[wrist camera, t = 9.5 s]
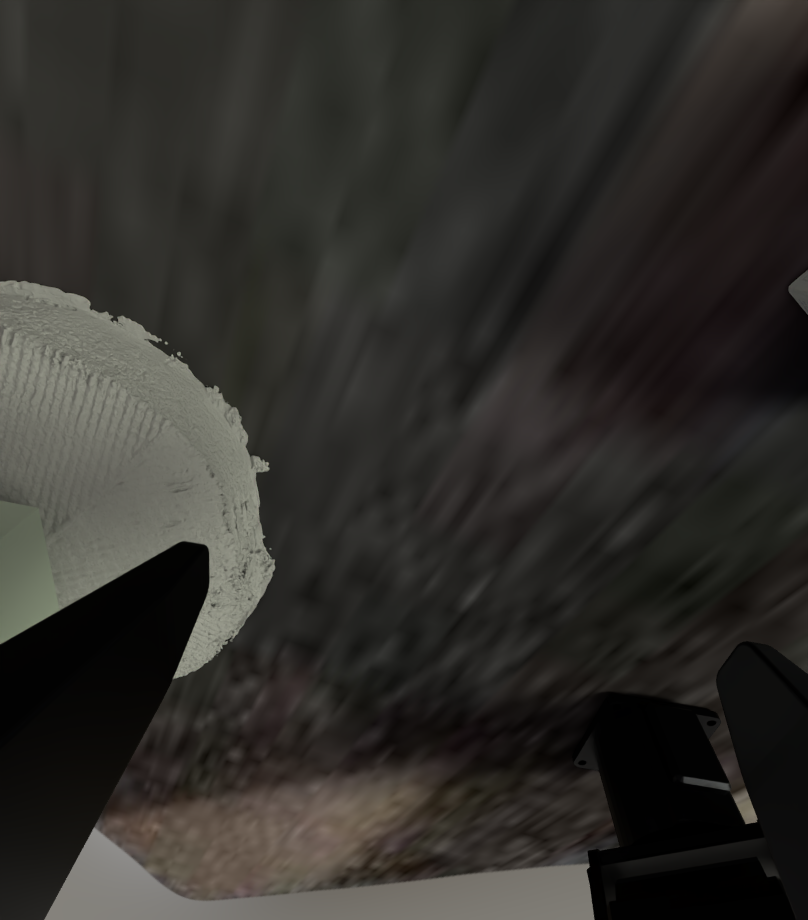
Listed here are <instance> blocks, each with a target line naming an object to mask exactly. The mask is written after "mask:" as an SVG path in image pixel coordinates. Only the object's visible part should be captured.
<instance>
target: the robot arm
mask: <svg viewBox="0 0 808 920" xmlns="http://www.w3.org/2000/svg"><path fill="white" fill-rule="evenodd" d="M209 584H210V572H209V549H208V547H207V546H206V545H204V544H200V543H194V542H189V541H182V542H179V543H177V544H175V545H173V546H171V547H170V548H168V549H166V550H164V551H163V552H161V553H159V554H157V555H156V556H154V557H152V558H150V559H149V560H147V561H145V562H143V563H142V564H140V565H138V566H136V567H135V568H133V569H131V570H129V571H128V572H126V573H124V574H122V575H121V576H119V577H117V578H115V579H114V580H112V581H110V582H108V583H107V584H105V585H103V586H101V587H100V588H98V589H96V590H94V591H93V592H91V593H89V594H87V595H86V596H84V597H82V598H80V599H79V600H77V601H75V602H73V603H72V604H70V605H68V606H66V607H65V608H63V609H61V610H59V611H57V612H56V613H54V614H52V615H50V616H49V617H47V618H45V619H43V620H42V621H40V622H38V623H36V624H35V625H33V626H31V627H29V628H28V629H26V630H24V631H22V632H21V633H19V634H17V635H15V636H14V637H12V638H10V639H8V640H7V641H5V642H3V643H1V644H0V920H44V919H45V917H46V915H47V913H48V912H49V910H50V908H51V906H52V904H53V902H54V901H55V899H56V897H57V895H58V893H59V891H60V889H61V888H62V886H63V884H64V882H65V880H66V878H67V876H68V875H69V873H70V871H71V869H72V867H73V865H74V863H75V862H76V860H77V858H78V856H79V854H80V852H81V850H82V848H83V847H84V845H85V843H86V841H87V839H88V837H89V836H90V834H91V832H92V830H93V828H94V826H95V824H96V823H97V821H98V819H99V817H100V815H101V813H102V811H103V810H104V808H105V806H106V804H107V802H108V800H109V799H110V797H111V795H112V793H113V791H114V789H115V787H116V786H117V784H118V782H119V780H120V778H121V776H122V774H123V773H124V771H125V769H126V767H127V765H128V763H129V761H130V760H131V758H132V756H133V754H134V752H135V750H136V748H137V747H138V745H139V743H140V741H141V739H142V737H143V735H144V734H145V732H146V730H147V728H148V726H149V724H150V722H151V721H152V719H153V717H154V715H155V713H156V711H157V709H158V708H159V706H160V704H161V702H162V700H163V698H164V696H165V694H166V692H167V690H168V688H169V686H170V684H171V682H172V680H173V678H174V675H175V673H176V671H177V668H178V666H179V663H180V661H181V658H182V656H183V653H184V651H185V648H186V646H187V644H188V641H189V639H190V636H191V634H192V631H193V629H194V626H195V624H196V621H197V619H198V616H199V614H200V611H201V609H202V607H203V604H204V602H205V599H206V597H207V593H208V590H209ZM716 683H717V689H718V693H719V696H720V700H721V703H722V707H723V710H724V714H725V717H726V721H727V725H728V728H729V732H730V735H731V739H732V742H733V746H734V750H735V753H736V757H737V760H738V764H739V767H740V770H741V774H742V777H743V780H744V783H745V786H746V789H747V792H748V794H749V797H750V800H751V802H752V805H753V808H754V810H755V813H756V816H757V818H758V820H757V822H756V823H750V824H745V822H744V819H743V817H742V815H741V813H740V811H739V809H738V807H737V805H736V803H735V801H734V799H733V797H732V794H731V792H730V790H731V784H730V782H729V780H728V778H727V776H726V774H725V772H724V770H723V768H722V766H721V764H720V762H719V760H718V758H717V756H716V754H715V752H714V749H713V747H712V745H711V743H710V741H709V738H710V737H711V735H712V734H713V733H714V732H715V730H716V729H717V728H718V727H719V725H720V724H721V720H720V718H719V716H718V714H717V713H716V712H713V711H708V710H703V709H697V708H691V707H685V706H679V705H674V704H668V703H662V702H656V701H650V700H645V699H639V698H633V697H627V696H621V695H611V696H609V697H607V698H606V700H605V701H604V703H603V705H602V706H601V708H600V710H599V712H598V713H597V715H596V717H595V718H594V720H593V722H592V723H591V725H590V727H589V728H588V730H587V732H586V733H585V735H584V737H583V739H582V740H581V742H580V744H579V745H578V747H577V749H576V750H575V752H574V754H573V756H572V758H573V762H574V765H575V766H577V767H580V768H586V769H592V770H598V771H599V772H600V776H601V780H602V783H603V787H604V791H605V794H606V798H607V801H608V805H609V809H610V812H611V816H612V820H613V823H614V827H615V831H616V834H617V838H618V842H619V845H620V847H618V848H613V849H607V850H602V851H599V849H595V850H589V851H588V858H589V865H590V867H589V868H588V869H587V874H588V878H589V883H590V889H591V897H592V904H593V911H594V919H595V920H808V674H807V673H806V672H804V671H803V670H802V669H800V668H799V667H798V666H796V665H795V664H794V663H792V662H791V661H790V660H788V659H787V658H786V657H785V656H783V655H782V654H781V653H779V652H778V651H777V650H775V649H774V648H772V647H771V646H768V645H765V644H760V643H754V642H748V641H746V642H742V643H740V644H738V645H737V646H736V648H735V649H734V651H733V652H732V653H731V655H730V656H729V657H728V659H727V660H726V661H725V663H724V664H723V665H722V667H721V668H720V670H719V671H718V674H717V679H716Z"/></svg>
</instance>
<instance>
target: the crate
mask: <svg viewBox="0 0 808 920" xmlns="http://www.w3.org/2000/svg"><path fill="white" fill-rule="evenodd" d="M59 610H60V609H59V604H58V600H57V595H56V590H55V585H54V580H53V575H52V571H51V566H50V561H49V556H48V551H47V546H46V541H45V537H44V532H43V527H42V522H41V517H40V512H39V508H37V507H32V506H26V505H21V504H16V503H11V502H5V501H0V644H1V643H3V642H5V641H7V640H8V639H10V638H12V637H14V636H15V635H17V634H19V633H21V632H22V631H24V630H26V629H28V628H29V627H31V626H33V625H35V624H36V623H38V622H40V621H42V620H43V619H45V618H47V617H49V616H50V615H52V614H54V613H56V612H57V611H59Z"/></svg>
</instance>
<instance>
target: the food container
mask: <svg viewBox="0 0 808 920" xmlns="http://www.w3.org/2000/svg"><path fill="white" fill-rule="evenodd" d="M111 318H113V316H111V315H109V314H108V312H104V313H103V312H102V313H98V312H97V311H94V310H93V309H92V310H90V301H89V300H87V299H86V298H84V297H81V296H79V295H76V294H73V293H64V292H62V291H61V290H59V289H58V288H54V287H47V286H43V285H42V286H40V285H39V284H35V283H28V282H27V281H22V282H17V281H7V282H0V501H5V502H11V503H16V504H21V505H26V506H32V507H37V508H39V512H40V517H41V522H42V527H43V532H44V537H45V541H46V546H47V551H48V556H49V561H50V566H51V571H52V575H53V580H54V585H55V590H56V595H57V600H58V604H59V609H60V610H61V609H63V608H65V607H66V606H68V605H70V604H72V603H73V602H75V601H77V600H79V599H80V598H82V597H84V596H86V595H87V594H89V593H91V592H93V591H94V590H96V589H98V588H100V587H101V586H103V585H105V584H107V583H108V582H110V581H112V580H114V579H115V578H117V577H119V576H121V575H122V574H124V573H126V572H128V571H129V570H131V569H133V568H135V567H136V566H138V565H140V564H142V563H143V562H145V561H147V560H149V559H150V558H152V557H154V556H156V555H157V554H159V553H161V552H163V551H164V550H166V549H168V548H170V547H171V546H173V545H175V544H177V543H179V542H182V541H189V542H194V543H200V544H204V545H206V546H207V547H208V549H209V572H210V584H209V590H208V593H207V597H206V599H205V602H204V604H203V607H202V609H201V611H200V614H199V616H198V619H197V621H196V624H195V626H194V629H193V631H192V634H191V636H190V639H189V641H188V644H187V646H186V648H185V651H184V653H183V656H182V658H181V661H180V663H179V666H178V668H177V671H176V673H175V675H174V678H176V679H177V678H178V677H182V676H183V675H184V676H186V675H187V674H188V673H189V672H191V671H196V670H197V669H199V668H201V666H203V664H204V663H208V660H212V659H211V657H212V658H213V656H214V655H215V654H216V650H217V651H219V652H220V648H221V649H223V648H222V644H223V645H225V644H227V642H228V641H226V642H225V640H226V639H229V638H230V637H231V636H233V638H234V637H235V635H237V634H238V632H239V629H240V628H241V626H242V627H243V625H244V622H245V621H246V618H247V617H248V616H249V615H250V614H251V613H252V612H253V610H254V609H255V607H256V606H257V603H258V601H259V600H260V598H261V597H262V596H263V594H264V592H265V591H266V587H267V585H268V583H269V582H270V581H271V577H272V576H273V575H272V572H273V571H274V570H275V565H274V562H275V560H271V559H272V558H271V557H270V555H269V554H268V552H266V548H265V547H264V544H263V540H262V538H265V536H263V534H262V528H261V523H260V522H259V511H258V506H259V507H260V505H259V504H260V500H259V496H258V488H257V485H256V480H255V478H256V472H264V471H268V470H269V468H268V466H267V465H269V463H268V462H266V463H265V461H264V460H262V461H261V460H260V458H259V457H257V456H251V458H250V455H249V454H248V451H247V449H246V448H245V446H246V443H247V442H248V435H247V433H246V431H245V429H243V426H242V425H241V423H240V422H241V420H242V419H240V418H242V417H241V416H239V414H238V410H237V409H236V407H232V408H231V406H230V405H229V404H227V403H228V402H227V403H225V402H224V401H225V400H223V396H222V393H218V390H219V388H218V387H217V386H214V388H213V389H212V388H210V387H209V388H208V387H207V388H205V387H204V385H203V384H202V383H201V382H200V381H198V379H196V378H195V377H194V375H193V374H192V372H191V371H190V370H189V369H188V365H186V364H184V363H182V362H180V361H179V360H178V359H177V357H176V358H174V357H173V354H172V355H171V356H170V357H169V356H168V355H166V354H165V353H164V352H162V350H159V349H157V348H156V347H154V346H153V345H152V344H151V343H149V342H148V339H150V340H151V339H152V340H153V341H156V342H158V341H162V340H161V339H158V338H157V337H156V336H155V335H151V334H150V333H149V332H146V331H145V330H144V328H143V327H142V325H139V324H137V323H136V322H134V321H131V320H130V319H128V318H125V317H124V316H120V317H118V322H116V321H113V322H114V323H113V322H112V321H111V320H110V319H111ZM119 323H121V324H122V325H123V326H122V325H121V324H119ZM144 339H147V340H144ZM165 344H167V342H165ZM177 355H178V356H180V355H181V352H178V353H177ZM181 358H183V357H182V356H181ZM186 360H187V359H186ZM239 417H240V418H239ZM270 549H271V548H270ZM266 555H267V556H266ZM269 558H271V559H269ZM238 628H239V629H238ZM231 640H232V639H231ZM231 640H230V641H231ZM224 643H225V644H224ZM217 654H218V653H217ZM217 656H218V655H217ZM174 678H173V679H174Z"/></svg>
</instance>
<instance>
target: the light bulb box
mask: <svg viewBox="0 0 808 920" xmlns="http://www.w3.org/2000/svg"><path fill="white" fill-rule="evenodd" d="M788 290H789V293H790V294H791V295H792V296H793V298H794V299H795V300H796V301H797V303H798V304H799V305H800V306H801V307H802V309H803V310H804V311H805V312H806V313H807V315H808V270H807V271H806V272H805V273H803V274H802V275H801V276H800V277H799V278H797V279H796V280H795V281H794V282H793V283H792V284H791V285H790V286H789V288H788Z"/></svg>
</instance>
